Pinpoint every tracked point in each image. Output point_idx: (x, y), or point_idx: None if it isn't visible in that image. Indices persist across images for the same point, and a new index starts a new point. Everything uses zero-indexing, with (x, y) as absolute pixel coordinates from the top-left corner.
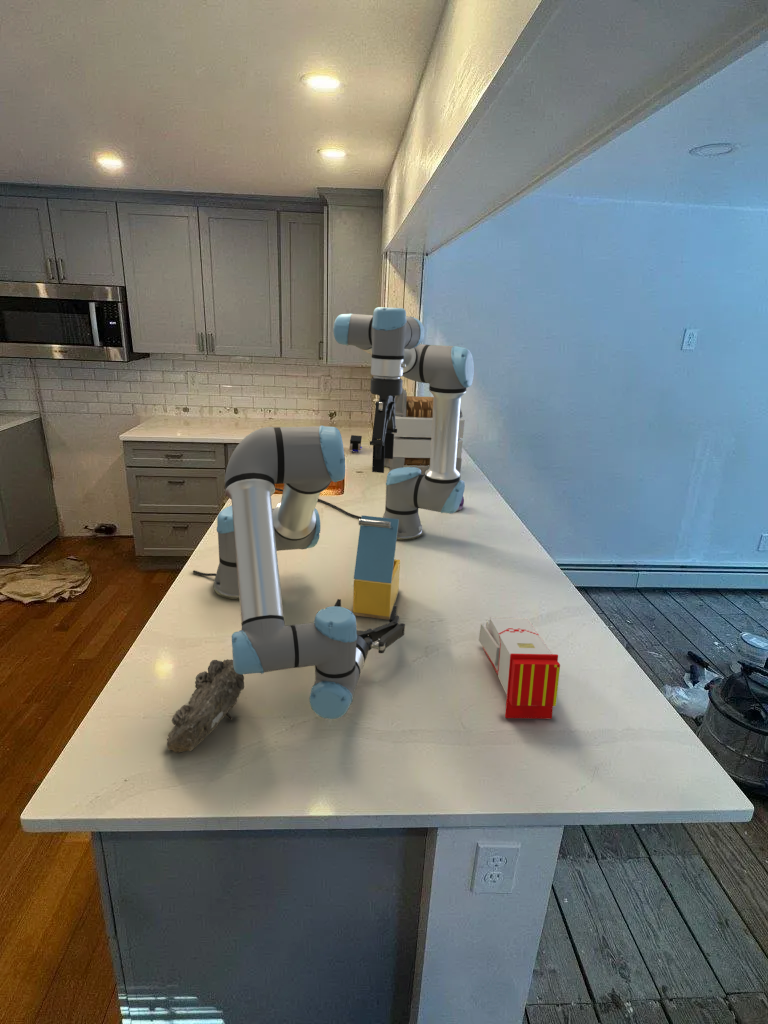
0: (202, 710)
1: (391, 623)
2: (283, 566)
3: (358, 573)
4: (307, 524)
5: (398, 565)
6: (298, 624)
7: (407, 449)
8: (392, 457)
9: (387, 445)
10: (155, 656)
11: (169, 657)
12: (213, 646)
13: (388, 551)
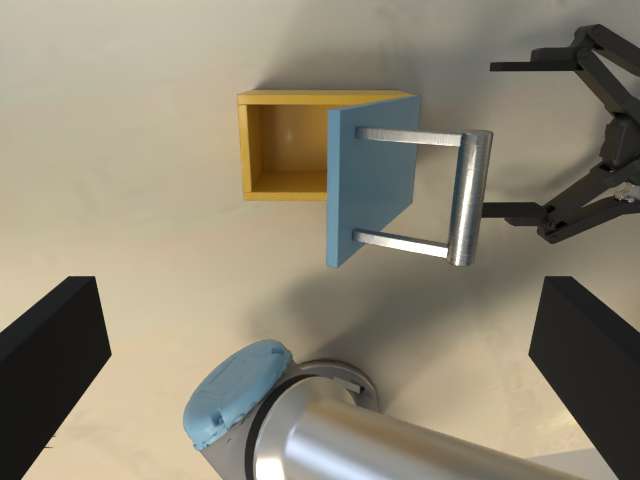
0: None
1: (590, 62)
2: (214, 365)
3: (408, 195)
4: (345, 403)
5: (273, 94)
6: None
7: None
8: (88, 283)
9: (33, 403)
10: (563, 430)
11: (565, 413)
12: (531, 372)
13: (390, 123)
